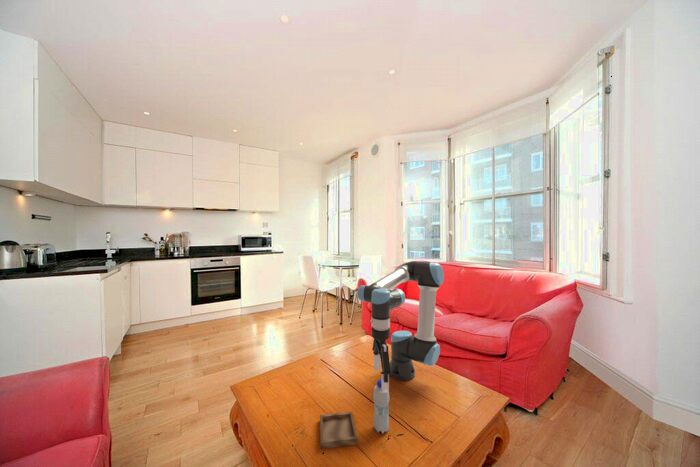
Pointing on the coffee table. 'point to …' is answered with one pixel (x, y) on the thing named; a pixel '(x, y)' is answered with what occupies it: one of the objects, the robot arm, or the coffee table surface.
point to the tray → (337, 430)
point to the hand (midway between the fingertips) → (380, 378)
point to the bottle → (381, 408)
